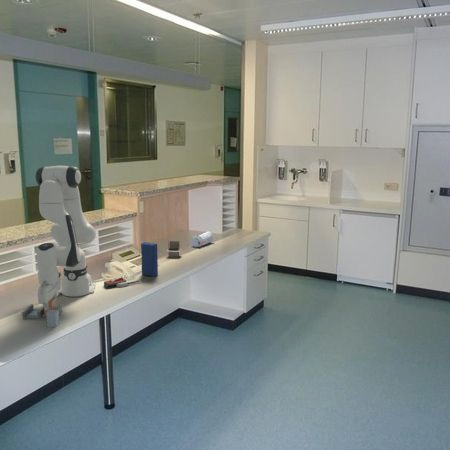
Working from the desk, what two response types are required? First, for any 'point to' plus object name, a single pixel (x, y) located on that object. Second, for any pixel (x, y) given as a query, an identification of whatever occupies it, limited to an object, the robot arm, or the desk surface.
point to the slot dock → (37, 313)
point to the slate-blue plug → (52, 318)
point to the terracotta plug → (50, 306)
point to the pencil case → (202, 239)
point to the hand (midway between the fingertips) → (50, 305)
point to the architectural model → (173, 249)
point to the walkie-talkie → (117, 282)
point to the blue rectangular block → (149, 259)
